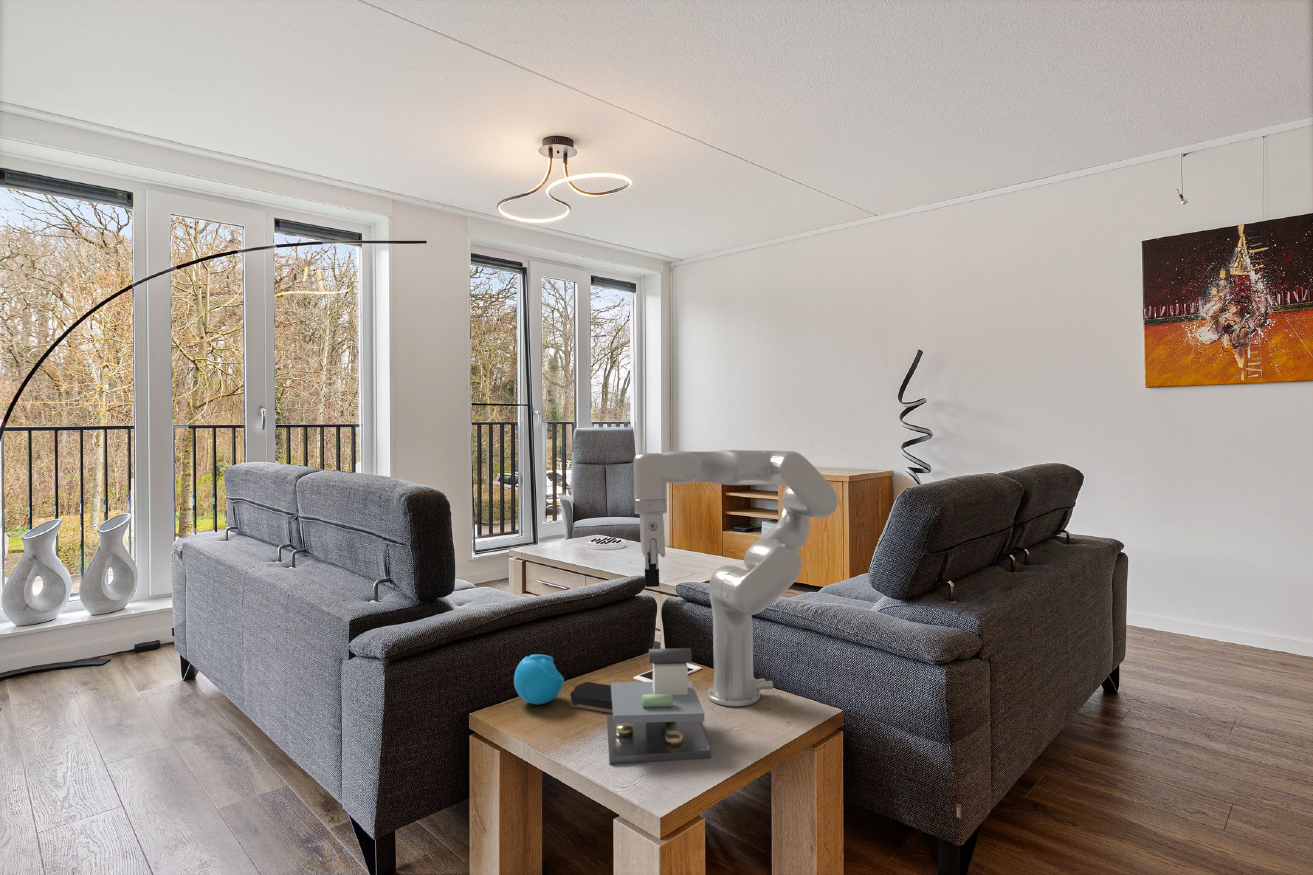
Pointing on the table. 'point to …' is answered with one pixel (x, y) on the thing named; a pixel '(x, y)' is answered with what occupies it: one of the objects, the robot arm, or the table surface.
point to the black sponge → (592, 697)
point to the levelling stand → (655, 741)
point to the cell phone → (649, 675)
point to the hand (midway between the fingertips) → (652, 585)
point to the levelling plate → (642, 715)
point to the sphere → (537, 679)
